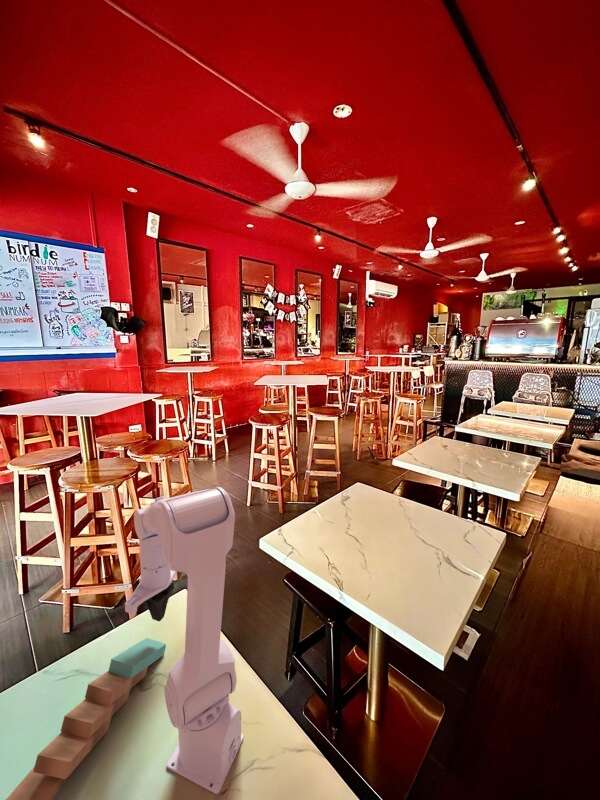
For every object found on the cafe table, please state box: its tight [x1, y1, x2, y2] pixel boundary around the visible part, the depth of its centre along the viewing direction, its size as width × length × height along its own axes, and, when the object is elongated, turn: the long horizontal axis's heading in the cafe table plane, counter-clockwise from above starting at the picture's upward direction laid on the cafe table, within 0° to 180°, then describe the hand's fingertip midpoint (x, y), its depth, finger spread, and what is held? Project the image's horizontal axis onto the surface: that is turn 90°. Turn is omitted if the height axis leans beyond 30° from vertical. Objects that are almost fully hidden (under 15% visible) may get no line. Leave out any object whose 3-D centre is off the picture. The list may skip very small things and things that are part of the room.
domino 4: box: [33, 715, 113, 779], centre depth 52 cm, size 5×2×10 cm
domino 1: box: [108, 637, 167, 679], centre depth 67 cm, size 5×2×10 cm
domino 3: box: [60, 689, 131, 739], centre depth 57 cm, size 5×2×10 cm
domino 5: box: [5, 765, 76, 800], centre depth 49 cm, size 5×2×10 cm
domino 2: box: [84, 666, 149, 706], centre depth 62 cm, size 5×2×10 cm
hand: (158, 617), depth 71 cm, fingers closed
